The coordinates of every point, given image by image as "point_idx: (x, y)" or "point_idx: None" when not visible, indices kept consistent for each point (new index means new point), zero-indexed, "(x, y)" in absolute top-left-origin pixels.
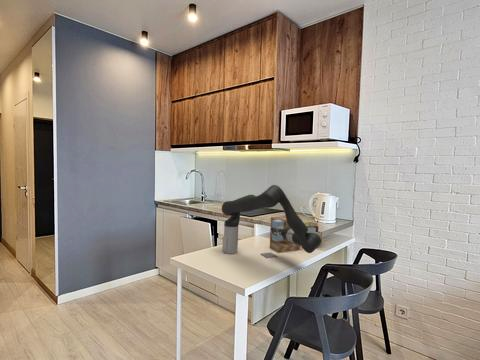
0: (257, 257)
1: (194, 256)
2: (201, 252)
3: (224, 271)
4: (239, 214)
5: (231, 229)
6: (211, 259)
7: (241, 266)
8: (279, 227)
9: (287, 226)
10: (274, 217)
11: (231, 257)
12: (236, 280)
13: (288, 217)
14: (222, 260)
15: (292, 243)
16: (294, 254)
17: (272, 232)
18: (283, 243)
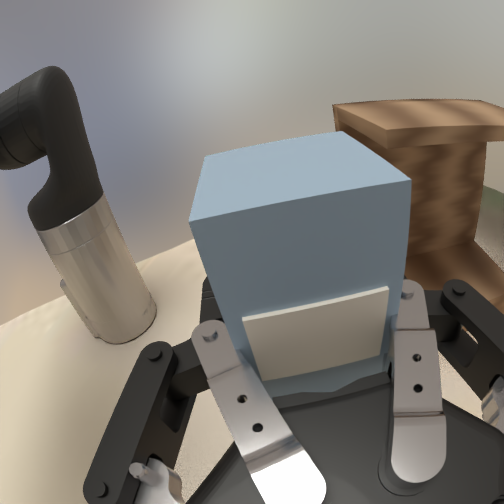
0: (195, 420)
1: (15, 335)
2: (50, 309)
3: None
4: (47, 145)
5: (46, 243)
6: (23, 374)
7: (49, 493)
8: (295, 325)
9: (456, 165)
10: (358, 104)
11: (84, 380)
12: None
13: None
14: (38, 397)
15: (475, 277)
16: (467, 386)
17: (165, 395)
18: (424, 278)
